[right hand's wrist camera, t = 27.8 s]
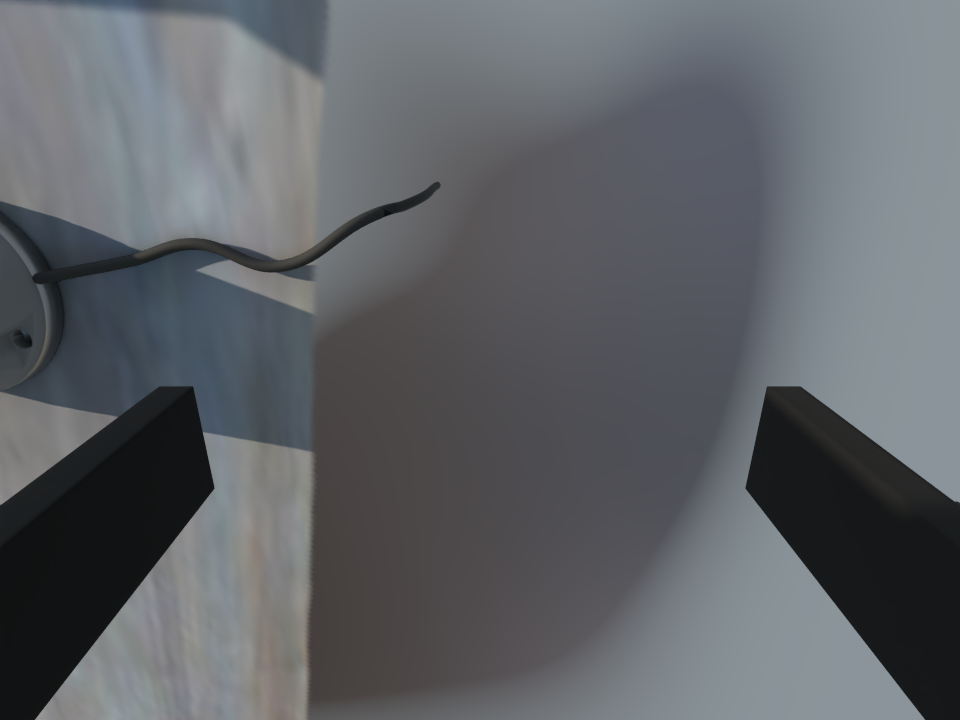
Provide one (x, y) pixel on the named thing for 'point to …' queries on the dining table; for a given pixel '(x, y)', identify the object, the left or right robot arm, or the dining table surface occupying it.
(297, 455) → the dining table surface
